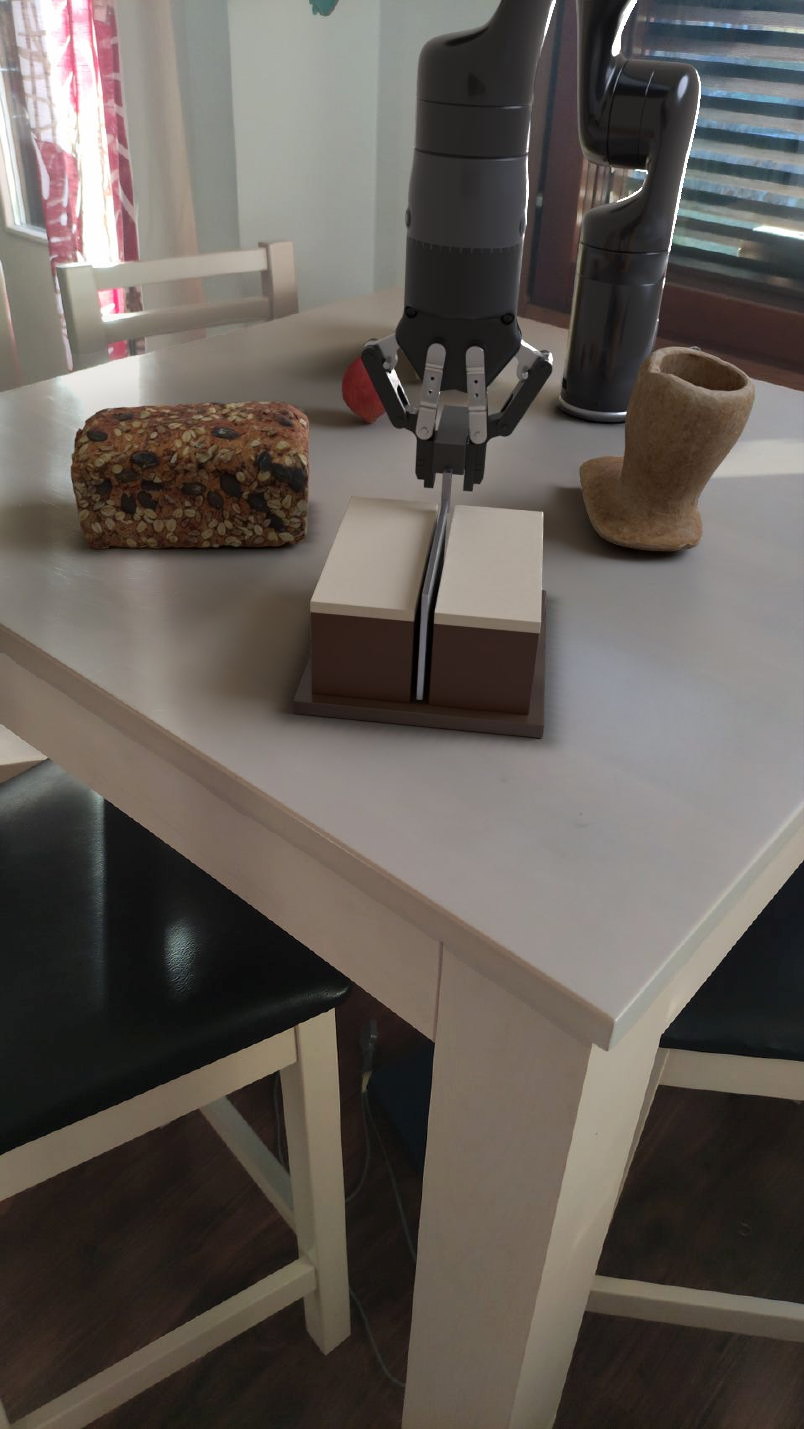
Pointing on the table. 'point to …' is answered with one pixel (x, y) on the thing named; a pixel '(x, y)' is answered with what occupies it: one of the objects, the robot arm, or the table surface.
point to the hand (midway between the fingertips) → (448, 484)
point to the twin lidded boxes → (467, 621)
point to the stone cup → (667, 450)
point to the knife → (441, 522)
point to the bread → (193, 475)
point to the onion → (361, 392)
